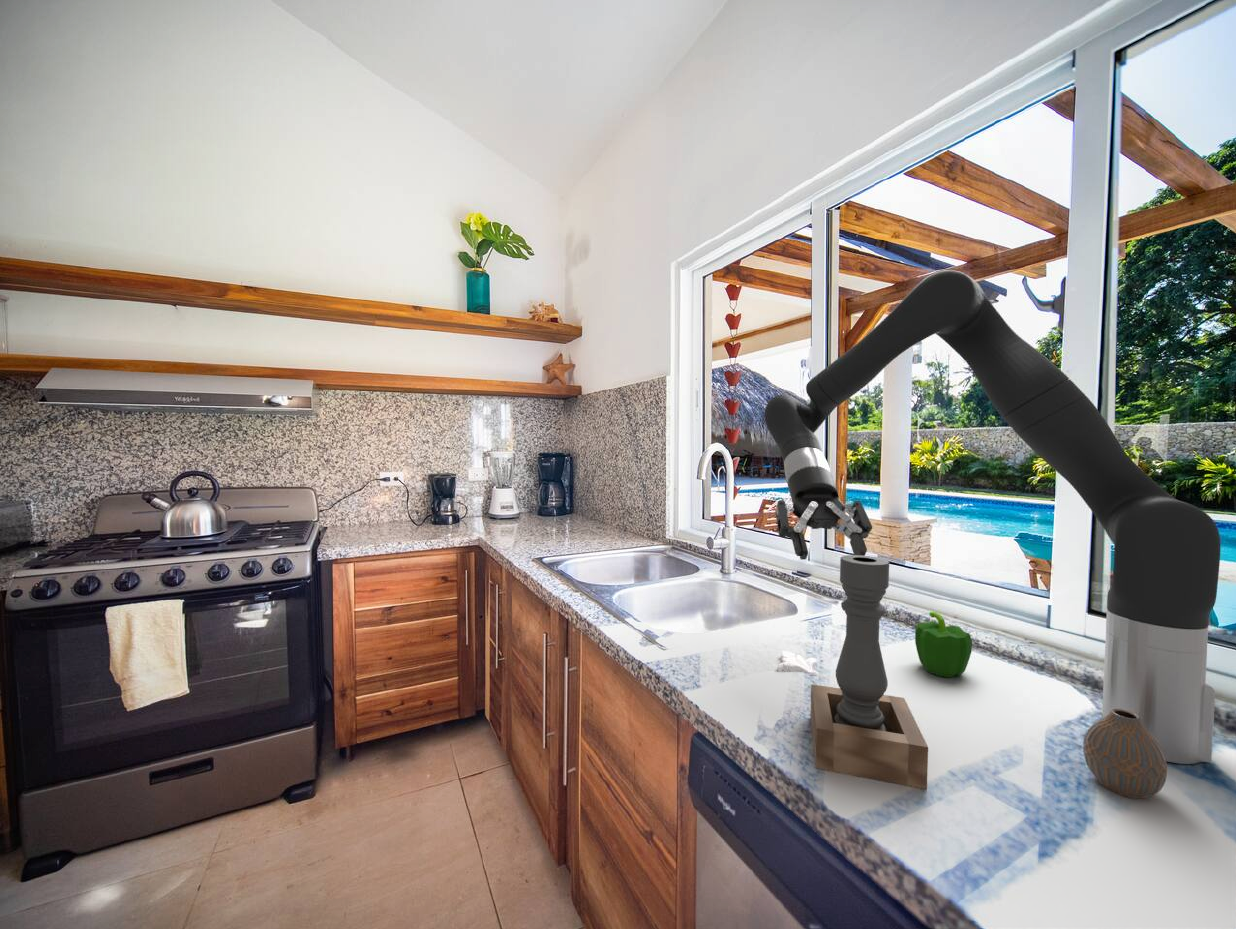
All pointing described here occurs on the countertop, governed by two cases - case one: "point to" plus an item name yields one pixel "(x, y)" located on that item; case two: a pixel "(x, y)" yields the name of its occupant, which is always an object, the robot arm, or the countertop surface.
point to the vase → (1125, 755)
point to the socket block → (869, 741)
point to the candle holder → (862, 642)
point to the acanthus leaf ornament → (797, 663)
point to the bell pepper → (942, 647)
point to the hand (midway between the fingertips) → (832, 557)
